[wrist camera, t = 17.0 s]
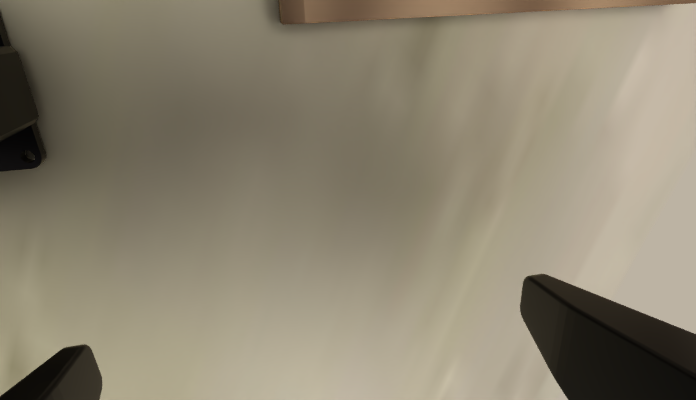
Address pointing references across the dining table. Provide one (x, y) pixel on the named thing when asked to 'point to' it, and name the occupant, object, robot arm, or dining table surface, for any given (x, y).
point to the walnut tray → (433, 8)
